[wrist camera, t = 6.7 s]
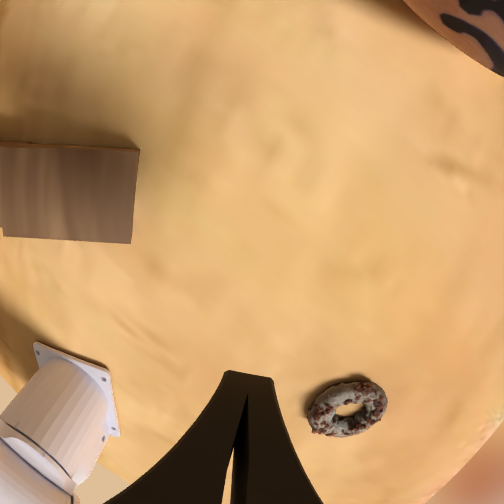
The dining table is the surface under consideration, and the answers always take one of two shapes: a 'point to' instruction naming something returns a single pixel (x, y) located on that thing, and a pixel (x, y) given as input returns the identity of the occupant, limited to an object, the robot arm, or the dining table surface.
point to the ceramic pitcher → (468, 27)
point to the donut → (343, 394)
